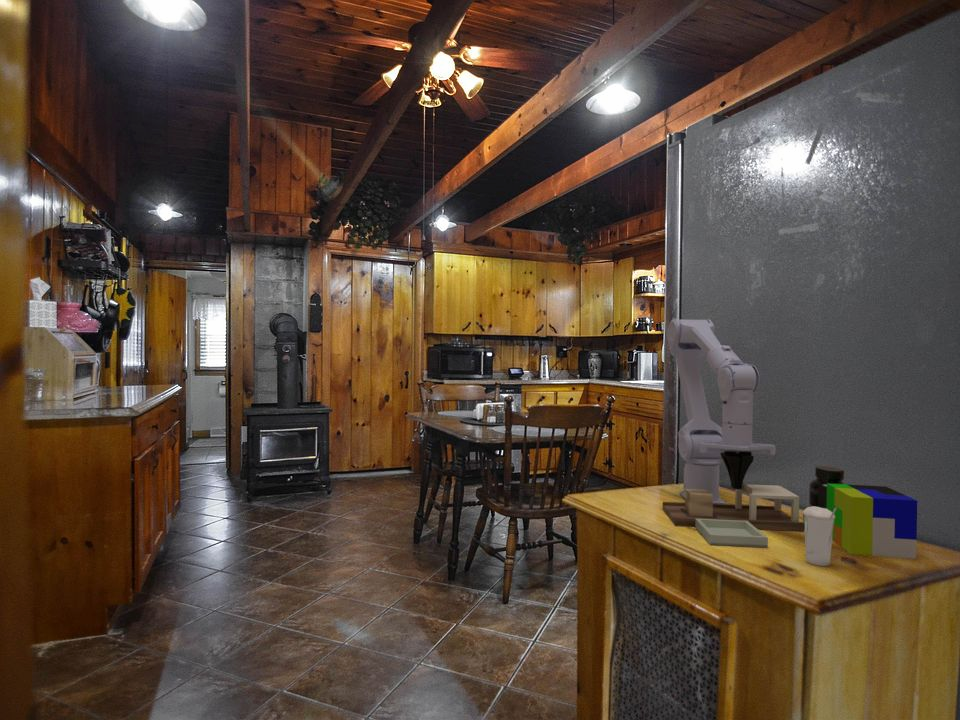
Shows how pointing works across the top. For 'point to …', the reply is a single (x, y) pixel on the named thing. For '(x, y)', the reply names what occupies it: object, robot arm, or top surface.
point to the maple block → (698, 502)
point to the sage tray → (731, 533)
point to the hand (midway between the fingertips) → (736, 488)
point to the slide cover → (769, 493)
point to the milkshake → (818, 534)
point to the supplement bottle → (823, 484)
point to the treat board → (735, 516)
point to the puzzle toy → (873, 520)
